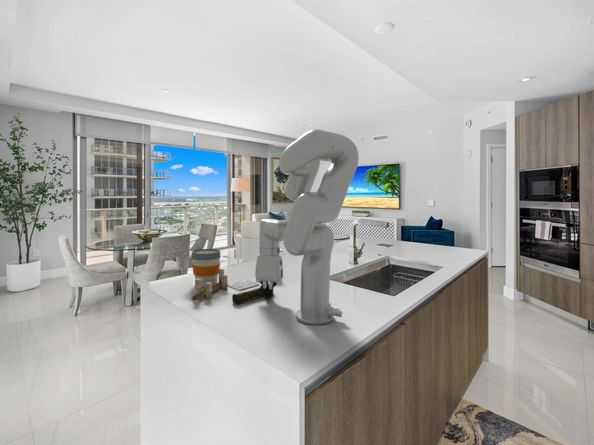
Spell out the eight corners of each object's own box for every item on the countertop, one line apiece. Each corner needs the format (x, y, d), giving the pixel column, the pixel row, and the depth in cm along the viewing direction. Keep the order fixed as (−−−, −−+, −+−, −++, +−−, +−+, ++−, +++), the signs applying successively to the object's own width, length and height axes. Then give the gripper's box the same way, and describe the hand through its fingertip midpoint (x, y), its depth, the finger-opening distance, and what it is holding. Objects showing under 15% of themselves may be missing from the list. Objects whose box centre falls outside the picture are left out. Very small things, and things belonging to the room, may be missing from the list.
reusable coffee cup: (223, 280, 146) (223, 248, 145) (217, 288, 134) (217, 254, 132) (196, 280, 146) (196, 248, 145) (187, 288, 134) (187, 253, 132)
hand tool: (237, 306, 114) (237, 293, 114) (231, 303, 117) (231, 291, 116) (277, 295, 127) (277, 284, 126) (271, 293, 130) (271, 282, 129)
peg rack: (231, 286, 136) (231, 269, 136) (205, 301, 117) (205, 281, 116) (219, 285, 138) (219, 268, 137) (192, 300, 119) (191, 280, 118)
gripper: (290, 251, 120) (290, 297, 122) (255, 248, 125) (255, 293, 126) (284, 254, 113) (283, 303, 115) (247, 251, 117) (246, 299, 119)
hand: (268, 298), depth 121 cm, fingers closed
